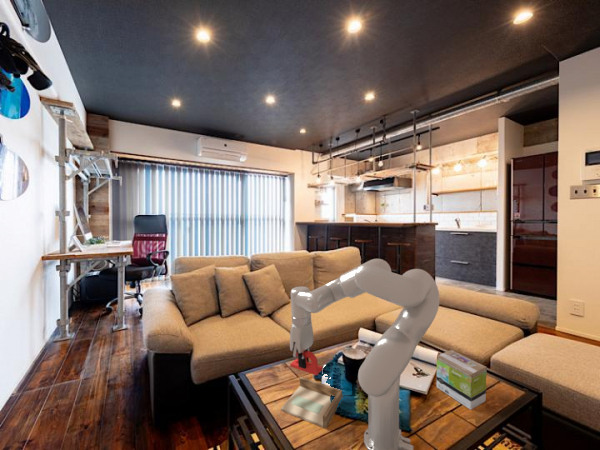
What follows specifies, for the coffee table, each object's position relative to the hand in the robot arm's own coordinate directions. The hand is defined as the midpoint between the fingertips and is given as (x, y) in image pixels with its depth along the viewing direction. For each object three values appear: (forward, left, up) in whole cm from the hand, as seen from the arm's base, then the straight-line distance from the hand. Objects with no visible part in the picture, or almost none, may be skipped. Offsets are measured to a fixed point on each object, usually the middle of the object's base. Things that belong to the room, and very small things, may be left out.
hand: (303, 365), depth 107 cm
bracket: (0, -2, -2) cm, 3 cm away
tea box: (-53, -35, -17) cm, 66 cm away
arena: (-2, -2, -16) cm, 17 cm away
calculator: (-5, -21, -17) cm, 28 cm away
